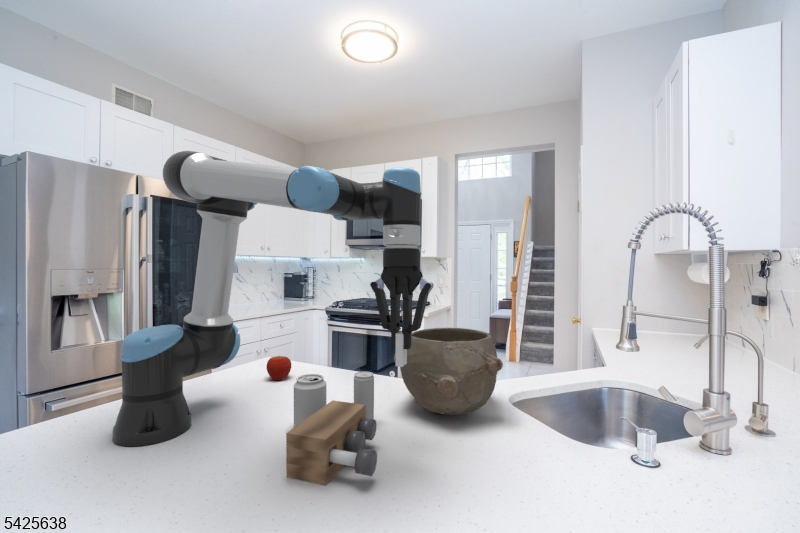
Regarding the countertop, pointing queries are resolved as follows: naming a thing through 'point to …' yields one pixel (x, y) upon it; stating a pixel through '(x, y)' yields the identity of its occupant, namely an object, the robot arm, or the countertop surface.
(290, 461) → the block
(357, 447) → the knob
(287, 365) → the apple
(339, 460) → the knob
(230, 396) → the countertop surface
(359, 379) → the beverage can
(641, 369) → the countertop surface
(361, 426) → the knob
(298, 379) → the can
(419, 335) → the bowl
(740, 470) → the countertop surface
